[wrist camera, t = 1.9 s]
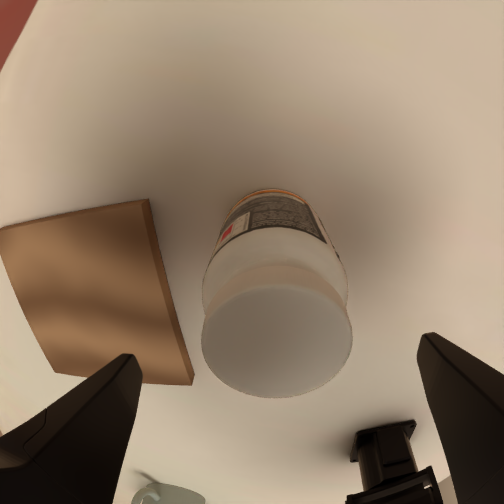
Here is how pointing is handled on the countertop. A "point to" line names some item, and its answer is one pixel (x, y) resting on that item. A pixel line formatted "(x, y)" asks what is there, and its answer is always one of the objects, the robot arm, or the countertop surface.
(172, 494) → the mug
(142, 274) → the plinth
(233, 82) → the countertop surface
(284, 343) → the pill bottle
